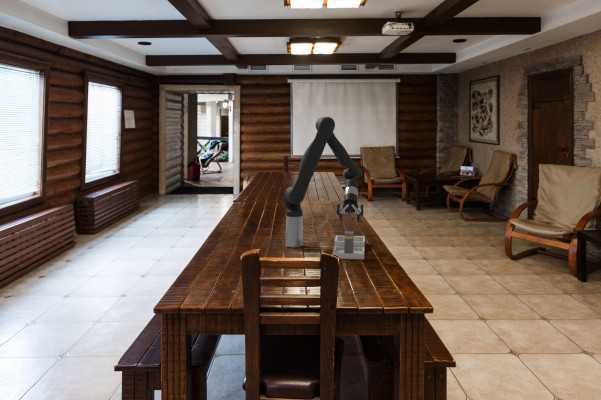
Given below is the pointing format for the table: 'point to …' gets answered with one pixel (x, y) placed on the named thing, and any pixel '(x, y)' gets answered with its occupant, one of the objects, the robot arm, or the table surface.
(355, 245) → the case
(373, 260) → the table surface
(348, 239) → the module
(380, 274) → the table surface
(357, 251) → the lid
